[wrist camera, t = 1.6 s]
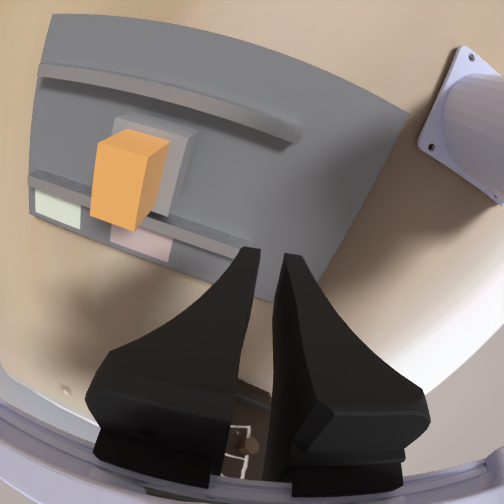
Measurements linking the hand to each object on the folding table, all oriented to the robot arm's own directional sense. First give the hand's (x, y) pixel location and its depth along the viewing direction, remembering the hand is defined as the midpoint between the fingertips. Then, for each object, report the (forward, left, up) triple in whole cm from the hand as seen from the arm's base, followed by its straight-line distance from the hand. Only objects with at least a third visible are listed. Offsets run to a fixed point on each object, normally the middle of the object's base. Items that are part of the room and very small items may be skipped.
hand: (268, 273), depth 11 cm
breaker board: (+6, 0, -9) cm, 11 cm away
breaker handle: (+7, 0, -7) cm, 10 cm away
